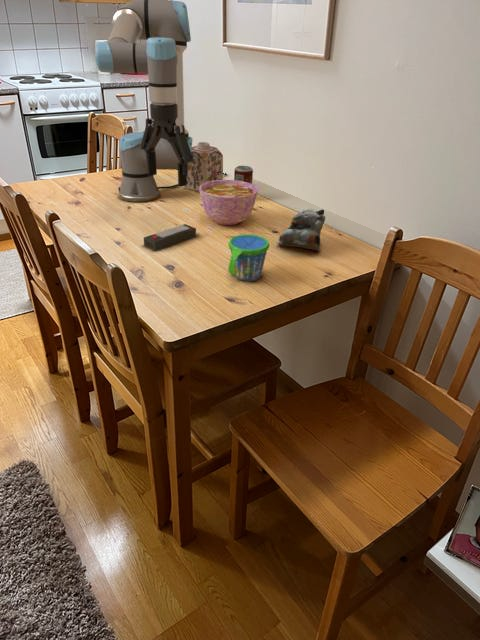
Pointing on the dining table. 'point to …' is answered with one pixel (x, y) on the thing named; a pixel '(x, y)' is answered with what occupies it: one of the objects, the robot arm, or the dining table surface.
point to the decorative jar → (204, 166)
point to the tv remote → (169, 237)
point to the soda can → (243, 174)
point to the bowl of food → (228, 200)
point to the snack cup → (247, 256)
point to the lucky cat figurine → (304, 230)
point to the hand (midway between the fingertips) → (167, 180)
